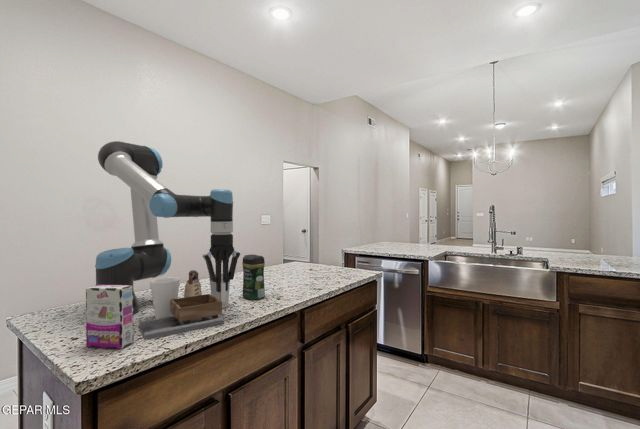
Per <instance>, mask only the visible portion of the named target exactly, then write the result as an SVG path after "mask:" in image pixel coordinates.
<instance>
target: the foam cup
mask: <svg viewBox="0 0 640 429" xmlns="http://www.w3.org/2000/svg"><path fill="white" fill-rule="evenodd" d="M180 281H181V279H180V278H179V277H160V278H155V279H154V278H153V279H152V280H150V282H149V286H150V287H149V288H150V290H151V297H152V303H153V310H154V317H155V319H158V318H164V317H169V316H174V315H173V314H172V313H171V312H170V300H171V299H178V296H179V289H180V285H181V282H180Z"/></svg>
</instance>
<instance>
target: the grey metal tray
mask: <svg viewBox="0 0 640 429" xmlns="http://www.w3.org/2000/svg"><path fill="white" fill-rule="evenodd" d="M223 318H224V317H222V316H218V317H217V318H212V317H211V316H208V317H202V318H197V319H192V320H190V322H189V323H187V324H184V323H183V322H182V321H181V322H179V320H178V319H177V318H176V317H175V316H169V317H164V318H158V319H156V318H153V319H148V320H147V319H146V320H141V321H139V323H138V327H139V330H140V332H141V334H142V335H143V338H144V340H145V341H147V340H146V339H148V340H151V338H153V339H157V338H156V337H158V338H161V337H162V336H163V337H167V336H171V335H177V334H181V333H186V332H191V331H195V330H200V329H206V328H209V327H211V328H212V327H216V326H220V325H224V324H225V323H224V319H223Z"/></svg>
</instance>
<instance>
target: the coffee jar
mask: <svg viewBox="0 0 640 429" xmlns="http://www.w3.org/2000/svg"><path fill="white" fill-rule="evenodd" d="M241 263H242V271H243V275H242V278H243V279H242V297H243V298H244V299H248V300H249V301H254V300H262V299H263V298H265V296H266V292H265V290H266V289H265V276H264V275H265V274H264V273H265V264H266V263H265V257H264V256H263V255H257V254H246V255H244V256H243V257H242V262H241Z"/></svg>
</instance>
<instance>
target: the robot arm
mask: <svg viewBox="0 0 640 429" xmlns="http://www.w3.org/2000/svg"><path fill="white" fill-rule="evenodd" d="M97 161H98V163H99V166H100V167H101V168H102V169H103V170H104V171H105V172H106V173H107V174H109V175H110V176H113V177H117V178H118V179H119V180H121V181H122V182H123V183H125V185H127V186H128V187H129V188H130V199H131V208H132V209H131V210H132V220H133V222H132V223H133V233H134V234H133V235H134V243H133V244H132V245H131V246H130V247H120V248H112V249H107V250H104V251H102V252H101V251H100V252H99V253H98V254H97V255H96V258H95V265H94V267H95V286H96V285H133V286H134V282H136V281H137V282H138V281H142V280H146V279H151V278H152V279H154V278H155V279H156V278H157V277H160V276H164V275H165V274H166V273H167V272H168V270H169V269H170V267H171V265H172V255H171V251H169V249H168V248H166V247H164V242H163V241H162V240H160V236H159V227H158V218H166V219H167V218H168V219H169V218H199V217H200V218H202V217H203V218H204V217H205V218H206V217H209V218H210V233H211V234H210V248H209V250H208V252H207V253H205V254H202V258H203V259H204V261H205V263H206V267H207V272H208V275H209V276H210V279H209V281H210V280H211V281H213V282H216V291H217V292H219V300H220V301H222V302H224V301H226V291H228V282H229V281H230V282H231V280H234V277H235V274H236V273H235V272H236V269H237V264H238V259H239V257H241V253H240V252H238V251H236V250H235V247H234V235H233V232H234V220H233V217H234V215H233V214H234V211H233V210H234V198H233V192H232V190H229V189H212V190H210V194H209V195H189V194H187V195H186V194H176V193H174V192H173V191H172V190H170V189H169V188H168V187H166V185H164V184H163V183H161V182H160V181H159V180H157V179H158V175H159V174H161V172H162V169H163V166H164V164H163V159H162V156H161V154H160V153H159V152H158V151H157V149H155V148H152V147H149V146H146V145H140V144H134V143H130V142H124V141H119V140H118V141H116V140H115V141H110V142H107V143H106V144H104V145H102V146H101V147H100V149H99V151H98V154H97ZM231 256H232V257H231ZM212 257H213V258H214V263H215V268H214V265H213V262H212V261H213V260H212ZM230 258H231V259H230ZM230 260H231V262H230ZM229 263H230V265H229ZM214 269H215V270H214ZM215 274H216V277H215ZM221 274H223V281H222V282H221ZM209 276H208V277H209ZM139 311H140V303H139V301H138V298H137V296H136V293H135V290H134V288H133V315H135V314H136V313H138V312H139Z"/></svg>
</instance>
